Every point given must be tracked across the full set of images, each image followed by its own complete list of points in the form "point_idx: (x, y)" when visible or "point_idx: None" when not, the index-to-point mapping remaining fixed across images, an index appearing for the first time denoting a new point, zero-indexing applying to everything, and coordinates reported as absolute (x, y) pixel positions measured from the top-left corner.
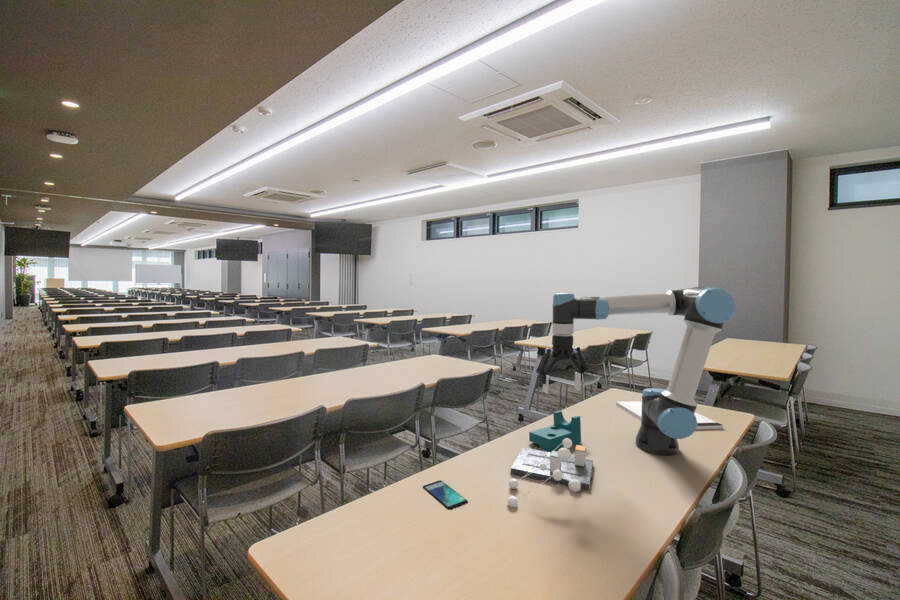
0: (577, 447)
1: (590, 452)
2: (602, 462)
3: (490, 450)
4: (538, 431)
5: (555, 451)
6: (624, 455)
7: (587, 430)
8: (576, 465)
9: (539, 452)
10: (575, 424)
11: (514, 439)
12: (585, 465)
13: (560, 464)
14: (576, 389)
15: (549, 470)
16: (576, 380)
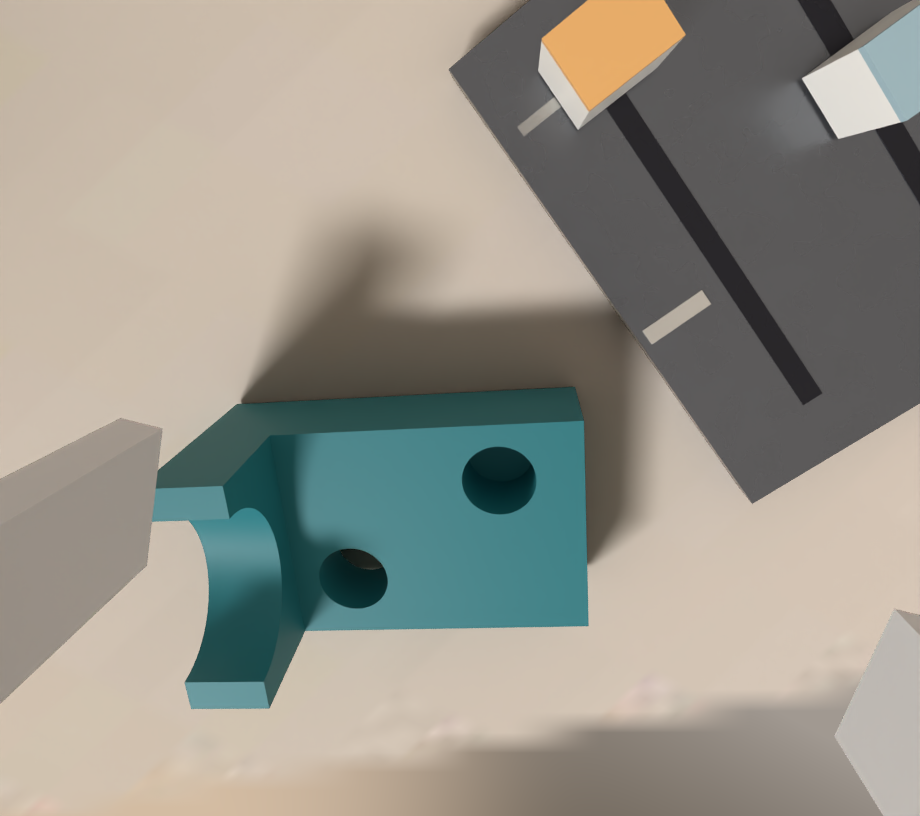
0: (631, 58)
1: (296, 253)
2: (343, 85)
3: None
4: (518, 596)
5: (897, 89)
6: (99, 89)
7: None
8: None
9: (712, 378)
10: (237, 458)
11: (628, 668)
12: None
13: (854, 43)
14: (152, 505)
15: None
16: (15, 621)
